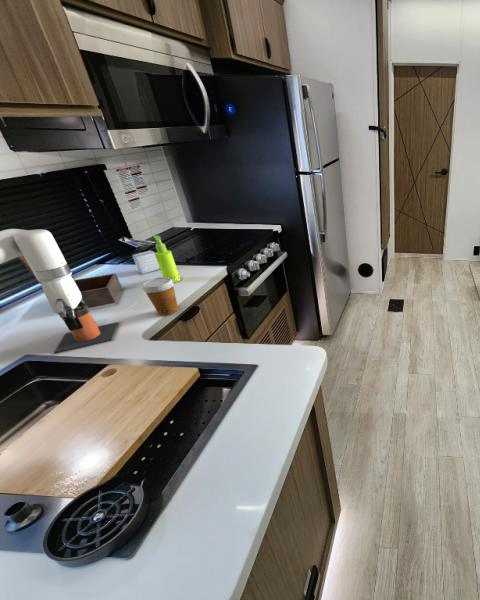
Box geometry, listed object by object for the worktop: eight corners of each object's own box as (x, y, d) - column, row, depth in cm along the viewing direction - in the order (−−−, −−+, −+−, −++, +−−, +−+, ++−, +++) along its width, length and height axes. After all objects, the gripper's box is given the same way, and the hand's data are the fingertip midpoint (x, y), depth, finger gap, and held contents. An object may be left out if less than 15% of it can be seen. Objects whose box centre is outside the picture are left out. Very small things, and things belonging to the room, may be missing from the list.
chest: (122, 289, 140) (115, 273, 136) (116, 304, 128) (108, 287, 124) (75, 297, 133) (66, 281, 130) (63, 314, 121) (53, 297, 118)
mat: (54, 353, 101) (54, 352, 101) (66, 334, 110) (66, 333, 110) (111, 340, 107) (111, 339, 106) (118, 322, 116) (117, 322, 116)
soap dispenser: (177, 275, 152) (162, 233, 142) (182, 280, 147) (166, 236, 138) (163, 279, 148) (146, 236, 139) (167, 284, 144) (150, 239, 134)
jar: (72, 344, 104) (56, 317, 99) (78, 333, 109) (63, 307, 105) (98, 338, 107) (84, 311, 102) (103, 328, 112) (89, 302, 107)
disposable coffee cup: (174, 302, 129) (163, 274, 123) (188, 308, 124) (177, 279, 119) (148, 313, 122) (135, 284, 116) (161, 320, 117) (149, 290, 112)
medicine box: (157, 266, 161) (150, 250, 157) (161, 268, 159) (154, 251, 155) (138, 272, 156) (131, 254, 152) (142, 274, 153) (135, 256, 149)
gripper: (46, 265, 102) (73, 313, 111) (24, 286, 89) (56, 339, 97) (77, 260, 106) (101, 307, 114) (60, 280, 92) (88, 332, 100)
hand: (80, 322), depth 106 cm, fingers open, 8 cm apart
